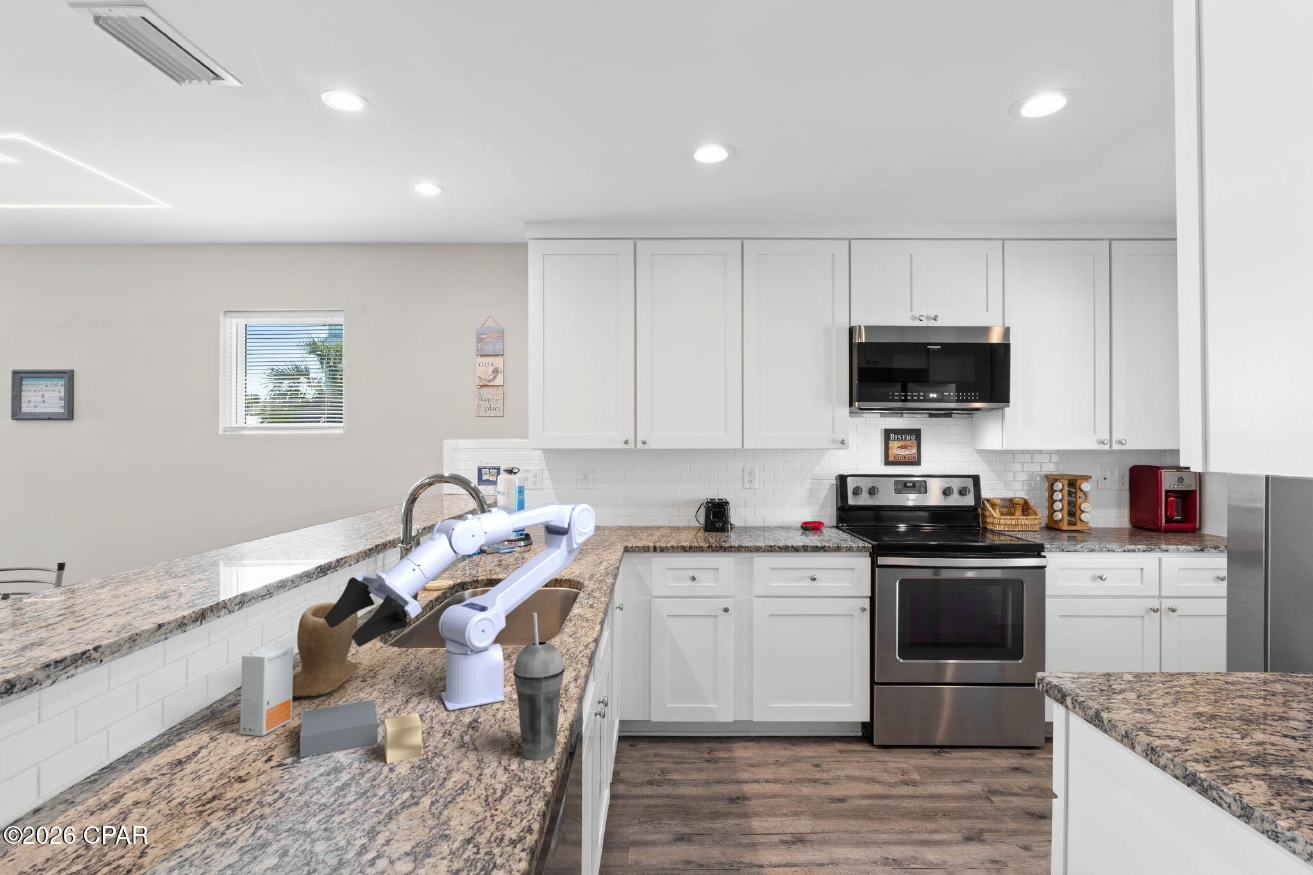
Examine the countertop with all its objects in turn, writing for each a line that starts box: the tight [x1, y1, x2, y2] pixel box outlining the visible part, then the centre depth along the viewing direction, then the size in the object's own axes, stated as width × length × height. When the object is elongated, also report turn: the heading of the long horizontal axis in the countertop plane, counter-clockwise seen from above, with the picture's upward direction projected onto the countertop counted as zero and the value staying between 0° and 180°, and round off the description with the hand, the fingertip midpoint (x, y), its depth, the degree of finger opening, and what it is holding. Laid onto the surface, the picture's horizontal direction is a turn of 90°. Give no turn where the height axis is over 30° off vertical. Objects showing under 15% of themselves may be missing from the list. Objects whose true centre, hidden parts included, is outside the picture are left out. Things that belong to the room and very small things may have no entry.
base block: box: [299, 699, 379, 759], centre depth 96 cm, size 10×10×3 cm
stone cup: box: [292, 602, 360, 698], centre depth 117 cm, size 15×12×15 cm
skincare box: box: [239, 644, 295, 737], centre depth 99 cm, size 6×4×12 cm
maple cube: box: [384, 712, 423, 764], centre depth 90 cm, size 4×4×4 cm
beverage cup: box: [512, 612, 565, 761], centre depth 90 cm, size 7×7×20 cm
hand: (341, 632), depth 95 cm, fingers open, 7 cm apart
